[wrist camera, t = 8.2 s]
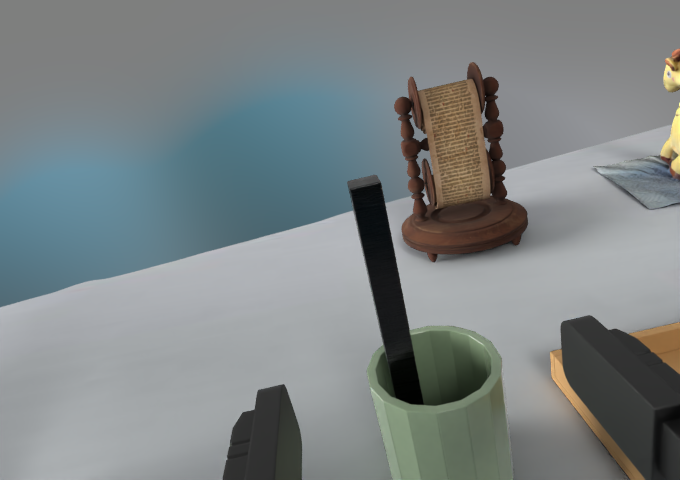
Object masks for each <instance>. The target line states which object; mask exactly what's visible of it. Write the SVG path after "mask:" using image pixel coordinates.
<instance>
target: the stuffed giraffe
mask: <svg viewBox="0 0 680 480" xmlns="http://www.w3.org/2000/svg"><path fill="white" fill-rule="evenodd" d="M665 62H666V64H667V65H666V69H665V72H664V86H665V88H666V89H667V90H668V91H669V92H675V91H678V90H679V89H680V49H677V50H675V51H673V53H672V57H671V58H667V59H666V60H665ZM593 167H595V168H596V169H597V170H598V172H599V173H600V174H602V175H603V176H605V177H607V178H610V179H611V180H613V181H614V182H615V183H616V184H618V185H620V186H621V187H623V188H625V190H627V191H628V192H630V193H631V194H632V195H633V196H634V197H636V198H637V199H638V200H639V201H640V202H641V203H642V204H644V205H646V206H647V207H648V208H649V209H656V208H660V207H665V206H668V205H670V204H673V203H680V103H679V108H678V109H677V111H676V116H675V118H674V121H673V123H672V129H671V136H670V138H669V139H668V140H667V141H666V143H665V145H664V146H663V148H662V151H661V155H659V156H648V157H646V158H643V159H635V160H631V161H624V162H621V163H618V164H612V165H607V166H593Z"/></svg>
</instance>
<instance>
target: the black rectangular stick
mask: <svg viewBox="0 0 680 480" xmlns="http://www.w3.org/2000/svg"><path fill="white" fill-rule="evenodd" d="M347 184H348V188H349V193H350V197H351V202H352V206H353V211H354V215H355V220H356V224H357V229H358V233H359V238H360V242H361V247H362V251H363V256H364V260H365V265H366V269H367V274H368V278H369V283H370V287H371V292H372V296H373V301H374V305H375V310H376V314H377V319H378V323H379V328H380V332H381V337H382V341H383V346H384V350H385V355H386V359H387V364H388V368H389V373H390V377H391V382H392V386H393V391H394V395H395V398H396V399H399V400H401V401H404V402H406V403H409V404H413V405H424V402H423V397H422V391H421V386H420V381H419V376H418V371H417V366H416V361H415V355H414V350H413V345H412V340H411V335H410V330H409V324H408V319H407V314H406V309H405V304H404V299H403V294H402V288H401V283H400V278H399V273H398V268H397V263H396V257H395V252H394V247H393V242H392V237H391V232H390V227H389V221H388V216H387V211H386V206H385V201H384V196H383V191H382V185H381V182H380V180H379V179H378V177H377V176H376V175H372V176H368V177H364V178H359V179H355V180H351V181H348V182H347Z"/></svg>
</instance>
